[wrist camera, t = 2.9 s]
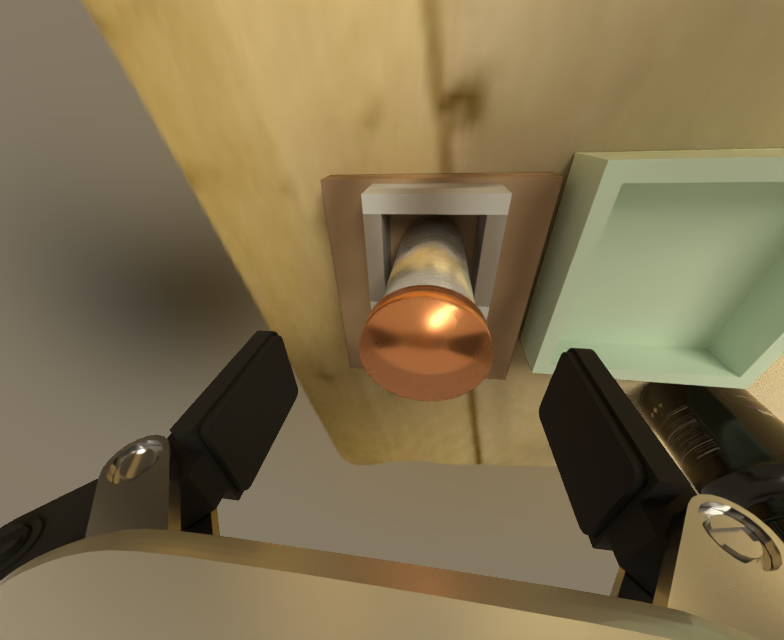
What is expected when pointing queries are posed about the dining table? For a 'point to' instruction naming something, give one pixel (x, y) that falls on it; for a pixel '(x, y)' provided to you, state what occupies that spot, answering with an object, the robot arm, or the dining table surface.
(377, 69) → the dining table surface
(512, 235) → the wooden stand
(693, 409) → the supplement bottle
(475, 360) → the jar with copper lid
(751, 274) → the tray
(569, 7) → the dining table surface
